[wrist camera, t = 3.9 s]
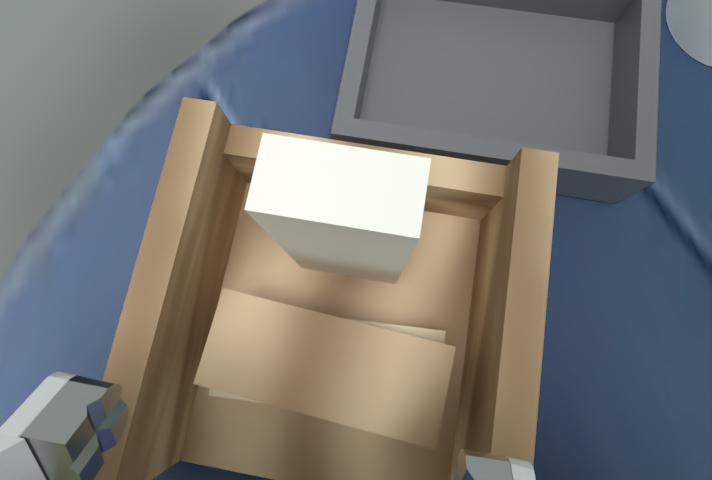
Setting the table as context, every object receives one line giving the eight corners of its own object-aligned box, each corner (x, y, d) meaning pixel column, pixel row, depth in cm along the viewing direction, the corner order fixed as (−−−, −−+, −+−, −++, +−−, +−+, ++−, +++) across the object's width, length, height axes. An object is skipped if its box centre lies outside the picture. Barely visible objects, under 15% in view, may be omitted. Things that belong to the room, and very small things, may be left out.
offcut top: (449, 345, 19) (455, 346, 18) (430, 440, 18) (435, 449, 17) (233, 291, 20) (223, 288, 18) (206, 379, 19) (193, 383, 18)
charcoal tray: (624, 20, 27) (662, -26, 23) (615, 203, 24) (655, 182, 21) (369, -13, 28) (370, -61, 24) (335, 160, 25) (330, 133, 22)
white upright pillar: (402, 240, 23) (431, 158, 12) (395, 284, 23) (419, 238, 12) (310, 225, 24) (262, 132, 13) (301, 268, 23) (244, 210, 12)
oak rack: (506, 203, 25) (559, 152, 18) (472, 512, 21) (522, 597, 14) (232, 160, 26) (183, 97, 19) (160, 449, 22) (68, 500, 15)
